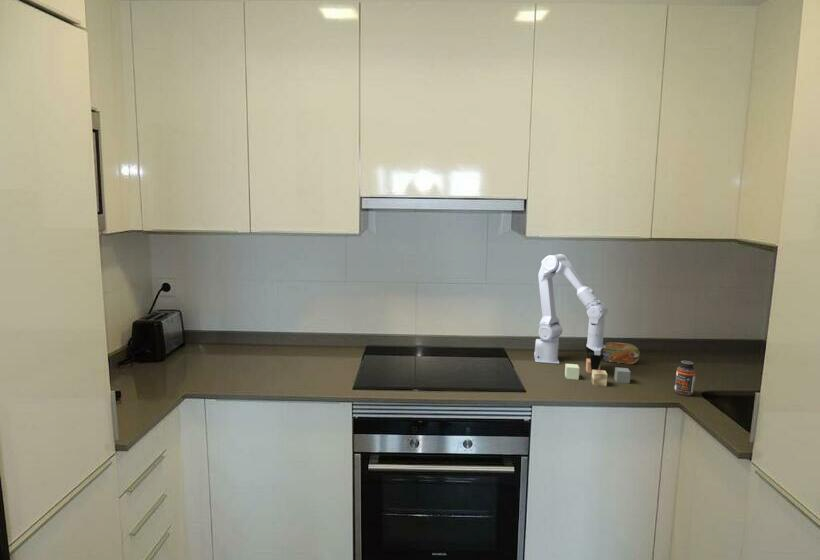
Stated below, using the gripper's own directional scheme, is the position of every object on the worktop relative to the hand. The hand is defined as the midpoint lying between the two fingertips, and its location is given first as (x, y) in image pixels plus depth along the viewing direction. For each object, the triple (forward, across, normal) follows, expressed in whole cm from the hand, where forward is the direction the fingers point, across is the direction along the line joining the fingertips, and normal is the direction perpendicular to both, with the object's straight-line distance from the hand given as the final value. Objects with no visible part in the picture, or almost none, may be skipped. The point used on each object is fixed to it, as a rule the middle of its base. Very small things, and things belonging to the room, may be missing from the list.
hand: (592, 367), depth 207 cm
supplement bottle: (+2, -17, -28) cm, 33 cm away
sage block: (+2, -9, +9) cm, 13 cm away
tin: (+2, +15, -13) cm, 20 cm away
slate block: (+2, -9, -9) cm, 13 cm away
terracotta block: (+2, 0, 0) cm, 2 cm away
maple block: (+2, -14, 0) cm, 14 cm away
